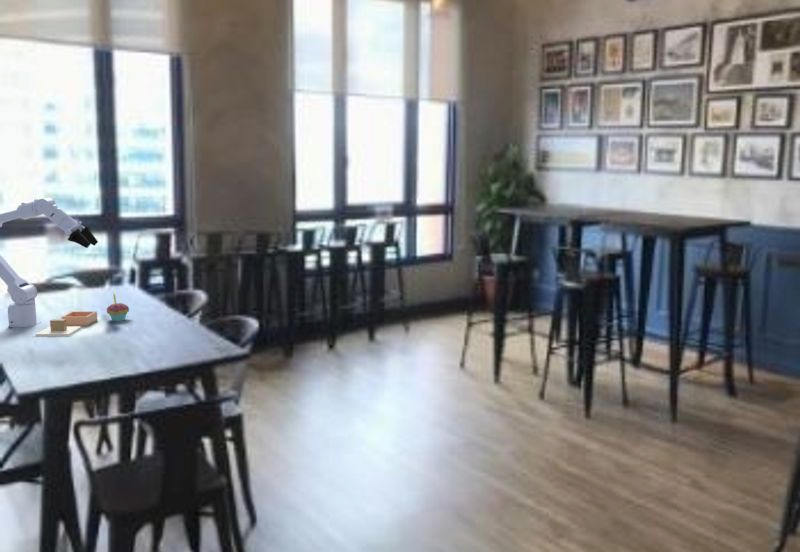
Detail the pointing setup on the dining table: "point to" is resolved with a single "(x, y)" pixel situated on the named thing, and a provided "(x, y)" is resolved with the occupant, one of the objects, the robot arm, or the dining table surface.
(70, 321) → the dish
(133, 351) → the dining table surface
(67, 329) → the lid
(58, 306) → the dining table surface
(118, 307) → the cupcake
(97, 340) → the dining table surface
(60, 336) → the mat
